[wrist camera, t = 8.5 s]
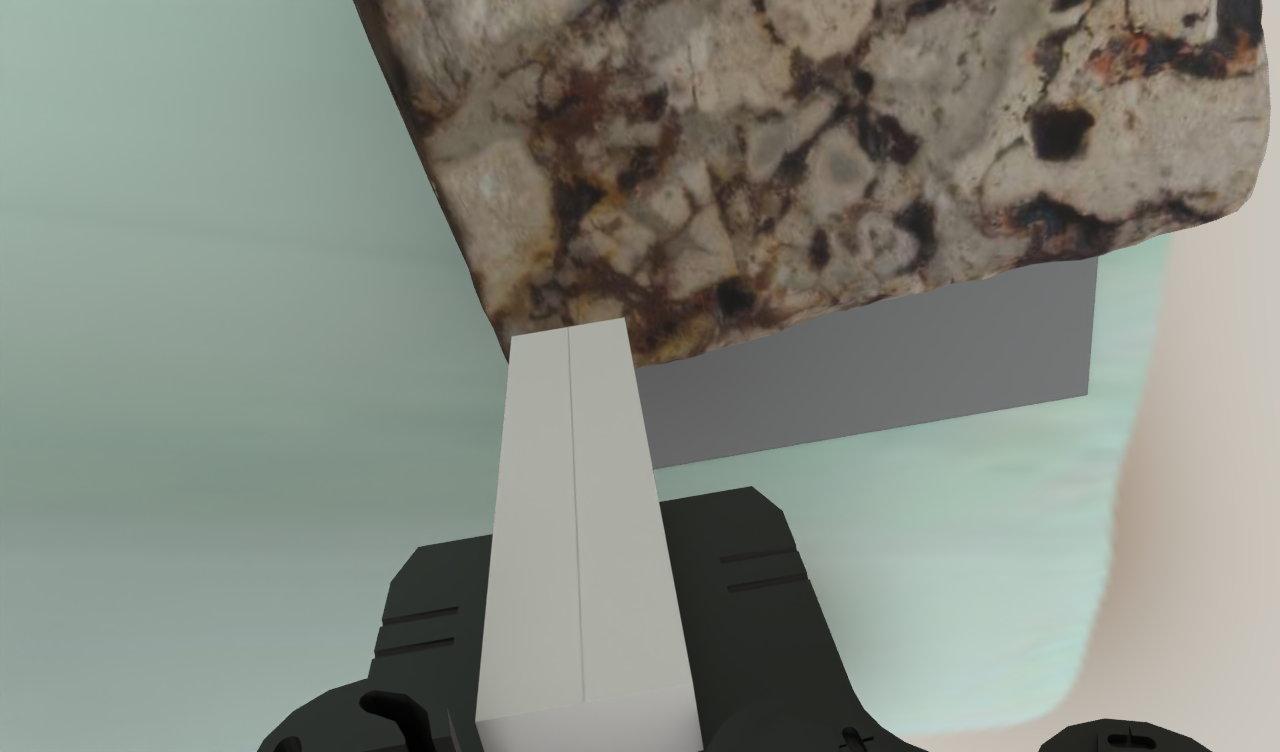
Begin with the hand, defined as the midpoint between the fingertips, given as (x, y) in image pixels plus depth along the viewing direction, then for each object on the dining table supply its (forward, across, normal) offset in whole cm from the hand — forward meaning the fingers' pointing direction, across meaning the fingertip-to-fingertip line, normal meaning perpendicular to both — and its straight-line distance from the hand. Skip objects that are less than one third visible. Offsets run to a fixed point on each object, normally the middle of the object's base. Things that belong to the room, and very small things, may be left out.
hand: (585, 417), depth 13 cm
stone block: (+14, -4, +1) cm, 14 cm away
